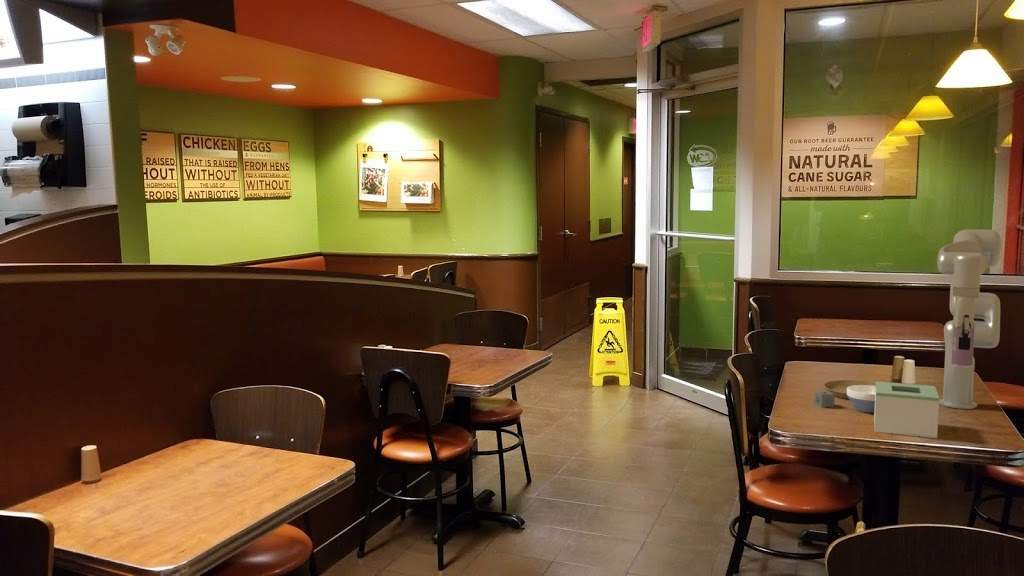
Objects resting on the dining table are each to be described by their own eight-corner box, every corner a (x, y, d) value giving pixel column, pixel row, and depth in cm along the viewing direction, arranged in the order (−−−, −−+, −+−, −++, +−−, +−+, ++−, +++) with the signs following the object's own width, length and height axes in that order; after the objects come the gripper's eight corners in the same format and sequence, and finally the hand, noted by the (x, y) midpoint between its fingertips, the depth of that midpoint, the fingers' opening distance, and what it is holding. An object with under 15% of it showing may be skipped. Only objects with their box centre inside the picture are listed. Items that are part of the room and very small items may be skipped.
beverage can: (975, 368, 250) (978, 321, 249) (955, 367, 251) (957, 321, 250) (968, 364, 256) (970, 319, 254) (948, 363, 257) (951, 318, 256)
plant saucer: (866, 406, 288) (866, 397, 287) (810, 393, 308) (810, 385, 307) (903, 397, 301) (904, 388, 300) (847, 385, 321) (848, 377, 320)
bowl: (837, 407, 285) (837, 387, 284) (867, 403, 290) (868, 383, 289) (868, 417, 271) (869, 395, 271) (899, 413, 277) (900, 392, 276)
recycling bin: (874, 418, 270) (875, 381, 269) (932, 423, 263) (934, 386, 261) (874, 431, 254) (876, 392, 252) (937, 438, 246) (939, 398, 245)
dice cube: (821, 408, 284) (822, 394, 284) (814, 404, 289) (814, 391, 289) (834, 407, 285) (834, 394, 285) (826, 404, 290) (827, 390, 289)
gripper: (949, 289, 261) (946, 342, 262) (955, 295, 245) (952, 351, 247) (975, 290, 257) (972, 344, 259) (983, 296, 242) (979, 353, 244)
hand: (962, 347), depth 253 cm, fingers closed on beverage can, 6 cm apart
